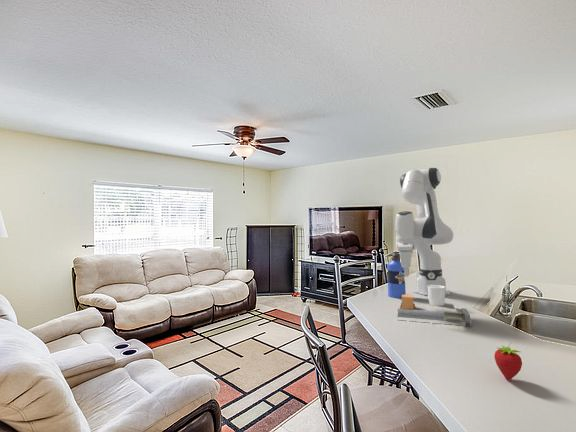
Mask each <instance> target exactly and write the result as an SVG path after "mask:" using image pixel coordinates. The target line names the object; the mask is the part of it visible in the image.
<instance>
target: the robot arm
mask: <svg viewBox="0 0 576 432" xmlns="http://www.w3.org/2000/svg"><path fill="white" fill-rule="evenodd" d="M440 172H441V171H439V169H438V168H437V167H429V168H422V169H410V170H409V171H407V172H406V173H404V174H402V175H401V176H400V177H399V184H400V187H401V190H402V191H401V194H402V197H403V199H404V200H405V201H407V203H410V204H413V205H416V215H417V217H418V218H417V217H416V218H415V216H414V213H413V212H412V211H399V212H397V213H396V215H395V222H394V223H395V225H394V229H395V231H394V232H395V234H396V236H395V249H396V250H397V251H398V254H399V257H400V260H399V261H400V262H401V266H402V268H404V278H405V277H406V278H408V277H409V273H410V268H411V265H412V264H411V261H412V255H413V253H414V250H416V251H417V254H418V256H419V270H418V271H419V276H418V277H417V279H416V288H415V289H414V290H413V293H416V294H420V295H422V296H423V295H424V296H428V288H427V286H428V285H441V286H445V296H447V295H450V294H451V293H450V291H448V290H447V284H446V282H447V281H446V278H444V277H443V269H442V260H441V259H442V257H441V254H439V253H438V252H436V251H434V250H433V249H432V248H431V246H433V245H437V246H439V245H441V246H442V245H446V244H450V243H451V242H452V241H453V238H454V231H453V229H452V228H451V227H449V226H448V225H447V224H446V223H444V221H443V220H442V218H441V217H440V214H439V211H438V203H437V196H436V191H435V190H436V189H437V187H438V186H439V184H440V183H441V180H442V174H441V173H440Z"/></svg>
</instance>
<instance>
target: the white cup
mask: <svg viewBox="0 0 576 432" xmlns="http://www.w3.org/2000/svg"><path fill="white" fill-rule="evenodd" d="M427 288H428V295H427V297H428V298H427V299H428V304H429V305H431V306H437V307H439V306H440V307H442V306H445V302H446V295H445V286H441V285H428V286H427Z"/></svg>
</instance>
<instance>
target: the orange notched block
mask: <svg viewBox="0 0 576 432" xmlns="http://www.w3.org/2000/svg"><path fill="white" fill-rule="evenodd" d="M401 303H402V309H414V305H413V303H414V294H406V295H402V298H401ZM414 304H415V303H414Z"/></svg>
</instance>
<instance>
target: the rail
mask: <svg viewBox="0 0 576 432" xmlns="http://www.w3.org/2000/svg"><path fill="white" fill-rule="evenodd" d="M396 317H397V318H406V319H416V320H417V319H419V320H427V321H428V320H430V321H440V322H452V323H454V322H455V323H460V324H461V325H460V324H455V326H457V327H468V328H473V322H472V321H471V315H470V313H469V311H468V309H467V308H462V307H461V312H458V311H457V312H455V311H454V312H453V311H435V310H419V309H416V310H409V309H400V308H397V316H396ZM416 320H415V321H414V320H410V322H412V323H413V322H414V323H418V321H416ZM398 321H399V322H400V321H401V322H406V320H404V319H398ZM427 321H421V323H426V324H429V322H427ZM434 324H435V325H441V323H437V322H433V325H434ZM444 325H447V326H452V324H450V323H444Z"/></svg>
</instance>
